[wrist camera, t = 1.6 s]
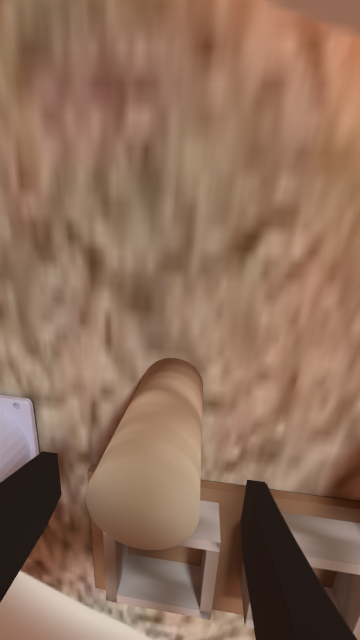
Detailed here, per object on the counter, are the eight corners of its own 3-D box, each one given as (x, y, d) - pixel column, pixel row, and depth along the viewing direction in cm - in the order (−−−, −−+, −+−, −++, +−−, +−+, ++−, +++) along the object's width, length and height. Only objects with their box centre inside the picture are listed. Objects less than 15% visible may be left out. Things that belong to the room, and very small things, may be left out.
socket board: (98, 579, 22) (81, 629, 19) (91, 464, 18) (69, 505, 15) (352, 624, 20) (378, 689, 17) (398, 507, 16) (441, 562, 13)
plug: (143, 408, 17) (88, 540, 9) (143, 355, 16) (82, 453, 8) (200, 415, 16) (195, 558, 9) (205, 361, 15) (204, 469, 8)
